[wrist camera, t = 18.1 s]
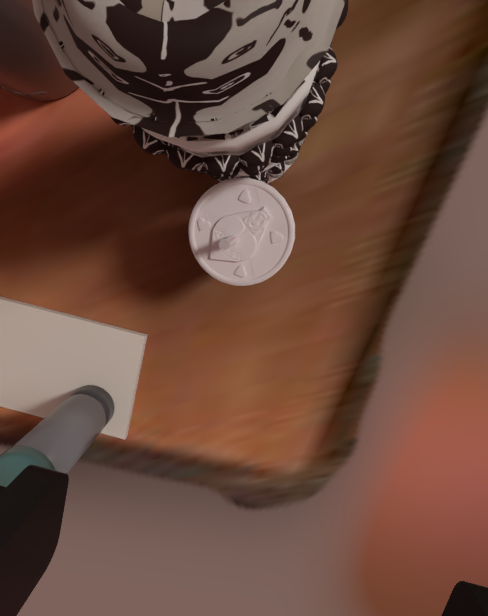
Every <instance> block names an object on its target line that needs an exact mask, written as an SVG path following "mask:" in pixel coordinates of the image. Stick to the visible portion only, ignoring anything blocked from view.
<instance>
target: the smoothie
mask: <svg viewBox="0 0 488 616" xmlns="http://www.w3.org/2000/svg"><path fill="white" fill-rule="evenodd" d="M294 240H295V223H294V219H293V215H292V211H291V209H290V208H289V206H288V204H287V202H286V200H285V199H284V198H283V197H282V196H281V195H280V194H279V193H278V192H277V191H276V190H275V189H274V188H273V187H271V186H269V185H268V184H266V183H264V182H262V181H259V180H255V179H251V178H233V179H229V180H225V181H222V182H220V183H218V184H216V185H214V186H213V187H211V188H210V189H208V190H207V191H206V192H205V193H204V194H203V195H202V196H201V197H200V199H199V200H198V202H197V203H196V205H195V207H194V209H193V211H192V214H191V217H190V221H189V242H190V246H191V249H192V252H193V254H194V256H195V258H196V260H197V262H198V263H199V264H200V266H201V267H202V268H203V269H204V270H205V271H206V272H207V273H208V274H209V275H211V276H212V277H214V278H215V279H217V280H219V281H221V282H224V283H227V284H231V285H238V286H246V285H253V284H257V283H260V282H262V281H264V280H266V279H268V278H270V277H271V276H273V275H274V274H275V273H276V272H277V271H278V270H279V269H280V268H281V267H282V266H283V265H284V264H285V262H286V260H287V259H288V257H289V255H290V253H291V251H292V247H293V244H294Z"/></svg>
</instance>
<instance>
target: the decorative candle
mask: <svg viewBox="0 0 488 616" xmlns="http://www.w3.org/2000/svg"><path fill="white" fill-rule="evenodd" d="M32 1H33V8H34V14H35V16H36V18H37V20H38V22H39V24H40V26H41V28H42V30H43V32H44V34H45V36H46V38H47V40H48V42H49V44H50V45H51V47H52V49H53V51H54V53H55V55H56V57H57V59H58V61H59V63H60V65H61V67H62V69H63V71H64V73H65V75H66V76H68V77H69V78H70V79H71V80H72V81H73V82H74V83H75V84H76V85H77V86H79V87H80V88H81V89H82V90H83V91H84V92H85V93H86V94H87V95H88V96H90V97H91V98H92V99H93V100H94V101H95V102H96V103H97V104H98V105H99V106H101V107H102V108H103V109H104V110H105V111H106V112H107V113H108V114H109V115H110V117H111V118H112V120H113V121H114V122H115V123H117V124H119V125H122V126H129V125H130V126H132V127H133V135H134V138H135V140H136V142H137V144H138V145H139V146H140V147H141V148H142V149H143V150H145V151H146V152H148V153H150V154H155V155H157V154H164V153H165V154H166V155H167V157H168V159H169V161H170V162H171V163H172V164H173V165H175V166H176V167H178V168H180V169H183V170H194V171H196V172H199V173H208V174H209V175H210V176H211V177H213V178H215V179H217V180H218V181H220V182H222V181H225V180H229V179H233V178H251V179H255V180H259V181H262V182H264V183H266V184H268V183H270V182H272V181H273V180H275V179H277V178H280V177H282V176H283V174H284V173H285V171H286V170H287V169H288V168H289V167H290V166H291V165H292V164H293V163H294V162H295V161H296V160H297V157H298V153H299V150H300V146H301V145H302V144H303V142H304V140H305V138H306V136H307V135H308V130H310V128H311V127H313V126H314V124H315V123H316V121H317V117H318V115H319V114H320V113H321V111H322V109H323V106H324V101H325V94H326V92H327V91H328V89H329V86H330V81H331V77H332V76H333V75H334V73H335V71H336V69H337V59H336V56H335V53H334V52H333V50H332V49H331V41H332V38H333V35H334V33H335V30H336V29H337V28H338V27H339V26H340V25H341V24H342V23H343V21H344V20H345V18H346V15H347V11H348V0H32Z"/></svg>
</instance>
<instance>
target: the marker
mask: <svg viewBox="0 0 488 616" xmlns="http://www.w3.org/2000/svg"><path fill="white" fill-rule="evenodd" d="M114 409H115V407H114V402H113V399H112V397H111V396H110V394H109V393H108V392H107V391H106V390H104V389H103V388H101V387H99V386H95V385H86V386H82V387H80V388H79V389H77V390H76V391H75V392H74V393H73V394H72V395H70V396H69V397H68V398H67V399H66V400H65V401H64V402H63V403H61V404H60V405H59V406H58V407H57V408H56V409H55V410H54V411H52V412H51V413H50V414H49V415H48V416H47V417H46V418H44V419H43V420H42V421H41V422H40V423H39V424H38V425H37V426H35V427H34V428H33V429H32V430H31V431H30V432H29V433H27V434H26V435H25V436H24V437H23V438H22V439H21V440H20V441H18V442H17V443H16V444H15V445H14V446H13V447H12V448H10V449H8V450H6V451H5V452H4V453H3V454H1V455H0V486H4V487H7V486H8V485H9V484H10V483H11V482H12V481H13V480H14V479H15V478H16V477H17V476H18V475H19V474H20V473H21V472H22V471H23V470H24V469H25V468H26V467H27V466H29V465H36V466H40V467H44V468H47V469H51V470H55V471H59V472H62V473H66V474H67V473H68V472H69V470H70V469H71V468H72V467H73V465H74V464H75V463H76V462H77V461H78V459H79V458H80V457H81V456H82V454H83V453H84V452H85V451H86V449H87V448H88V447H89V446H90V444H91V443H92V442H93V441H94V439H95V438H96V437H97V436H98V435H99V433H100V432H101V431H102V430H103V428H104V427H105V426H106V425H107V423H108V422H109V421H110V420H111V418H112V417H113V414H114Z"/></svg>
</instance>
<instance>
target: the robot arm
mask: <svg viewBox="0 0 488 616" xmlns="http://www.w3.org/2000/svg"><path fill="white" fill-rule="evenodd" d="M0 87H1V88H3V89H6V90H8V91H10V92H12V93H16V94H18V95H21V96H23V97H26V98H29V99H32V100H39V101H48V100H56V99H59V98H62V97H64V96H67V95H68V94H70V93H71V92H73V91H74V90H76V89H77V88H78V87H79V86H77V85H76V84H75V83H74V82H73V81H72V80H71V79H70V78H69V77H68V76H66V75H65V73H64V71H63V69H62V67H61V65H60V63H59V61H58V59H57V57H56V55H55V53H54V51H53V49H52V47H51V45H50V44H49V42H48V40H47V38H46V36H45V34H44V32H43V30H42V28H41V26H40V24H39V22H38V20H37V18H36V16H35V14H34V8H33V1H32V0H0ZM68 481H69V479H68V475H67V474H66V473H62V472H59V471H55V470H51V469H47V468H44V467H40V466H36V465H29V466H27V467H26V468H25V469H24V470H23V471H22V472H21V473H20V474H19V475H18V476H17V477H16V478H15V479H14V480H13V481H12V482H11V483H10V484H9V485H8V486H7V487H4V486H0V616H16V615H17V614H18V612H19V611H20V609H21V607H22V606H23V605H24V603H25V602H26V600H27V598H28V597H29V595H30V594H31V592H32V591H33V589H34V588H35V586H36V585H37V583H38V581H39V580H40V578H41V577H42V575H43V574H44V572H45V570H46V569H47V567H48V565H49V563H50V561H51V559H52V557H53V554H54V552H55V549H56V546H57V543H58V539H59V535H60V529H61V523H62V517H63V512H64V506H65V500H66V493H67V488H68ZM442 616H488V588H487V587H483V586H479V585H476V584H472V583H468V582H465V581H460V582H458V583H457V584H456V585H455V587H454V589H453V591H452V593H451V596H450V598H449V600H448V602H447V605H446V607H445V609H444V611H443V614H442Z"/></svg>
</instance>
